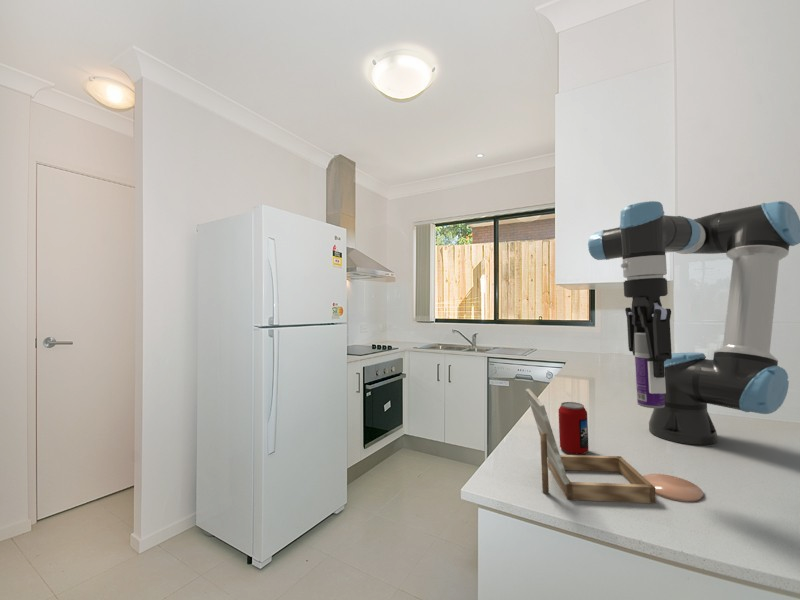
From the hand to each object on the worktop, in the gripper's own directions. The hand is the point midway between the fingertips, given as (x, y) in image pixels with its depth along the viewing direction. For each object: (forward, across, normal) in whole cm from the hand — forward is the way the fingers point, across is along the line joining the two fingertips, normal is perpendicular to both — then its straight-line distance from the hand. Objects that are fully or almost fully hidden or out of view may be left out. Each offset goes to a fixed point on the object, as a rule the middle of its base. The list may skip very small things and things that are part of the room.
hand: (650, 389), depth 75 cm
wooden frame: (+20, 0, -14) cm, 24 cm away
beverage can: (+20, -17, -11) cm, 29 cm away
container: (+4, 0, 0) cm, 4 cm away
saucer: (+20, +1, +2) cm, 20 cm away
